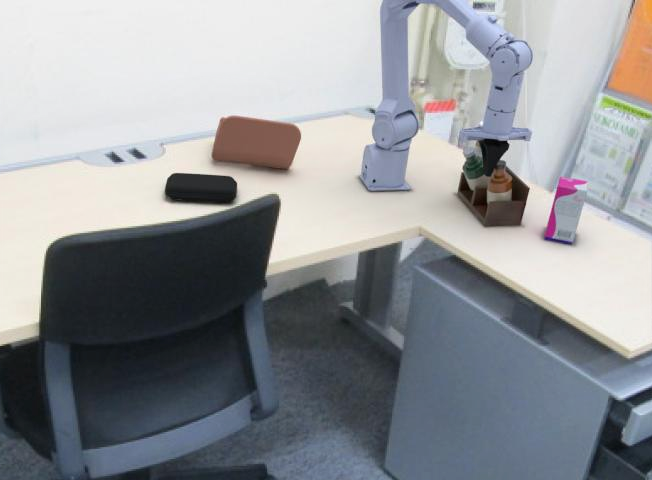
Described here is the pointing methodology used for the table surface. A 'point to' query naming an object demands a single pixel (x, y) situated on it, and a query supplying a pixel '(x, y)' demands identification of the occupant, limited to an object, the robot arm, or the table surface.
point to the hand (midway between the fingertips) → (487, 174)
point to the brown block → (256, 142)
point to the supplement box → (566, 210)
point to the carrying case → (201, 187)
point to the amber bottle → (499, 184)
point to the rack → (495, 202)
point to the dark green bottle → (473, 169)
